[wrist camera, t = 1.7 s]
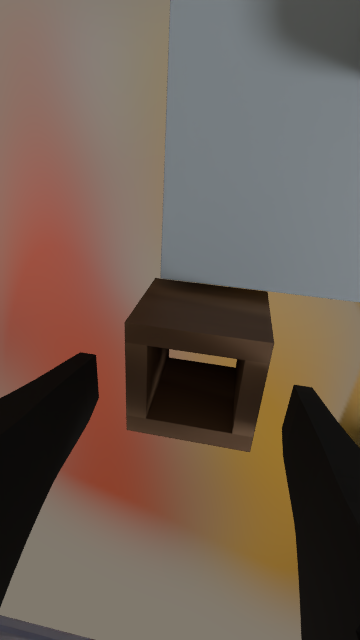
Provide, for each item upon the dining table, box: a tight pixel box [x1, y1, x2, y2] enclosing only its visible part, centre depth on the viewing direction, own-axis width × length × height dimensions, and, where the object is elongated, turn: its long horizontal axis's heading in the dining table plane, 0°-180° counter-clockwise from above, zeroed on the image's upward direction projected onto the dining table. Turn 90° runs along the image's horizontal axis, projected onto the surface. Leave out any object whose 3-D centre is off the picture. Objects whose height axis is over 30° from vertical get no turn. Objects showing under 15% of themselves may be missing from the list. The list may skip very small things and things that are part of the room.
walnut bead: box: [125, 278, 274, 452], centre depth 14 cm, size 5×5×4 cm
